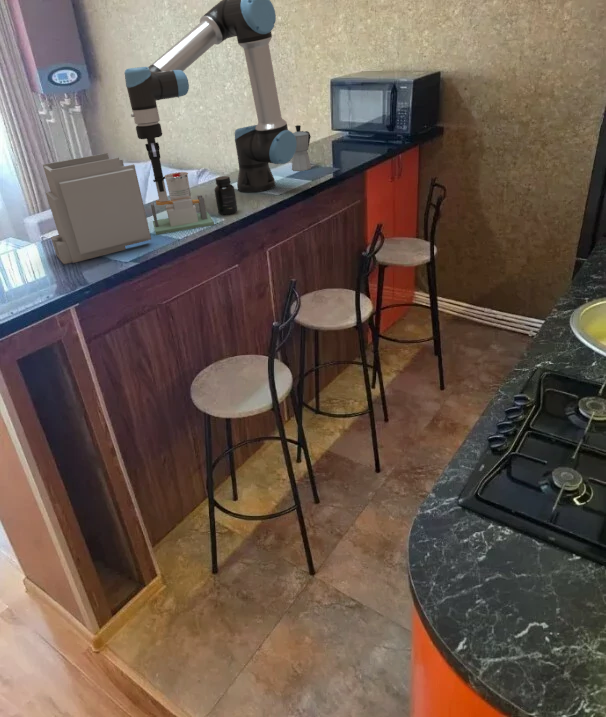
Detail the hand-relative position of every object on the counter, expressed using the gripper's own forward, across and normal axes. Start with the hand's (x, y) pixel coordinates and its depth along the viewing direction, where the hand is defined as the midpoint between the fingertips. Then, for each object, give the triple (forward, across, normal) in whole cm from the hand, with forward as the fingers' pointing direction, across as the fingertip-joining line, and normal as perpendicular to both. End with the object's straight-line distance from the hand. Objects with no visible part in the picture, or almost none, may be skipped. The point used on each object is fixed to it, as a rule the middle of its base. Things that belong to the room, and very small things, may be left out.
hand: (163, 200), depth 187 cm
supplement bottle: (+9, -5, +21) cm, 23 cm away
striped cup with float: (+9, -22, +7) cm, 25 cm away
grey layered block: (+9, +12, -20) cm, 25 cm away
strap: (+2, 0, +5) cm, 5 cm away
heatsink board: (+9, 0, +5) cm, 10 cm away
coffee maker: (+9, -57, +64) cm, 86 cm away
